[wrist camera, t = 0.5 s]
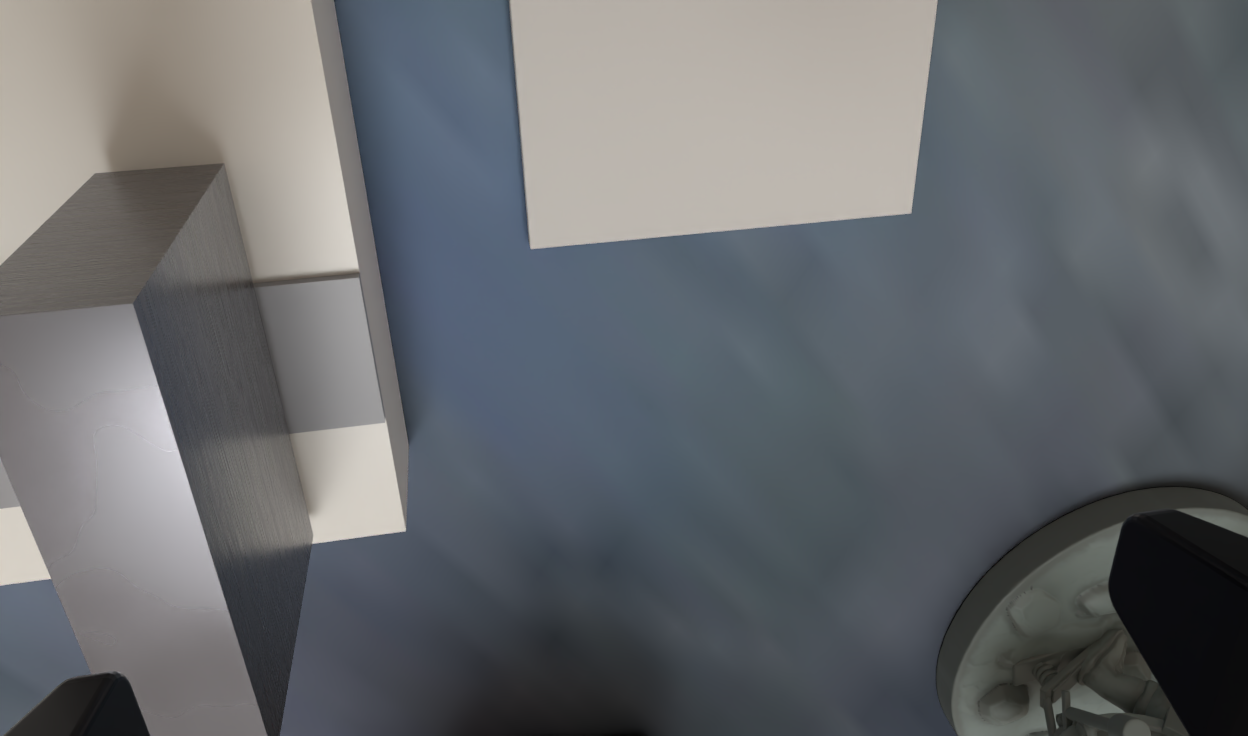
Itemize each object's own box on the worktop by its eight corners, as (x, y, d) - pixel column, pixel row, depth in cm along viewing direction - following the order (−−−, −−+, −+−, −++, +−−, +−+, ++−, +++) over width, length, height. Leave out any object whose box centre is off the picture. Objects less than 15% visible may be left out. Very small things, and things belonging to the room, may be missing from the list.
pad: (902, 206, 20) (910, 213, 20) (528, 241, 19) (530, 249, 19) (955, -237, 16) (967, -239, 16) (489, -226, 15) (491, -229, 15)
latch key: (313, 535, 17) (274, 761, 13) (3, 576, 17) (-146, 830, 12) (223, 163, 14) (132, 303, 10) (-170, 194, 13) (-460, 360, 9)
